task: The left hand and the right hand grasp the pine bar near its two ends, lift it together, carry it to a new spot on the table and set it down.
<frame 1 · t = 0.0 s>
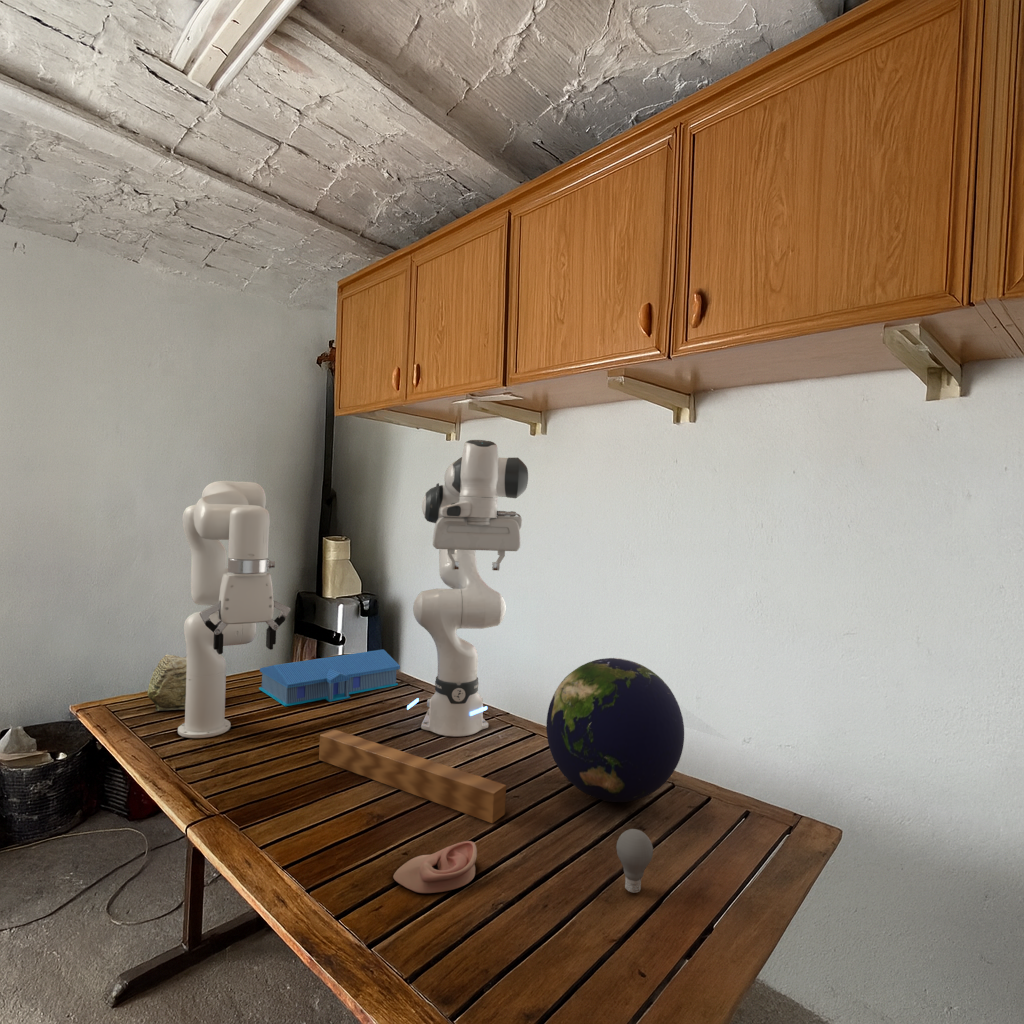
left hand: (244, 650, 130), 31 cm above the table, tool pointing down, fingers open, 9 cm apart
right hand: (475, 569, 146), 48 cm above the table, tool pointing down, fingers open, 8 cm apart
anatomical model: (435, 875, 108), on the table
bar: (404, 784, 141), on the table
globe: (610, 795, 140), on the table
light bulb: (632, 891, 106), on the table
model building: (332, 688, 208), on the table
fossil: (183, 706, 185), on the table
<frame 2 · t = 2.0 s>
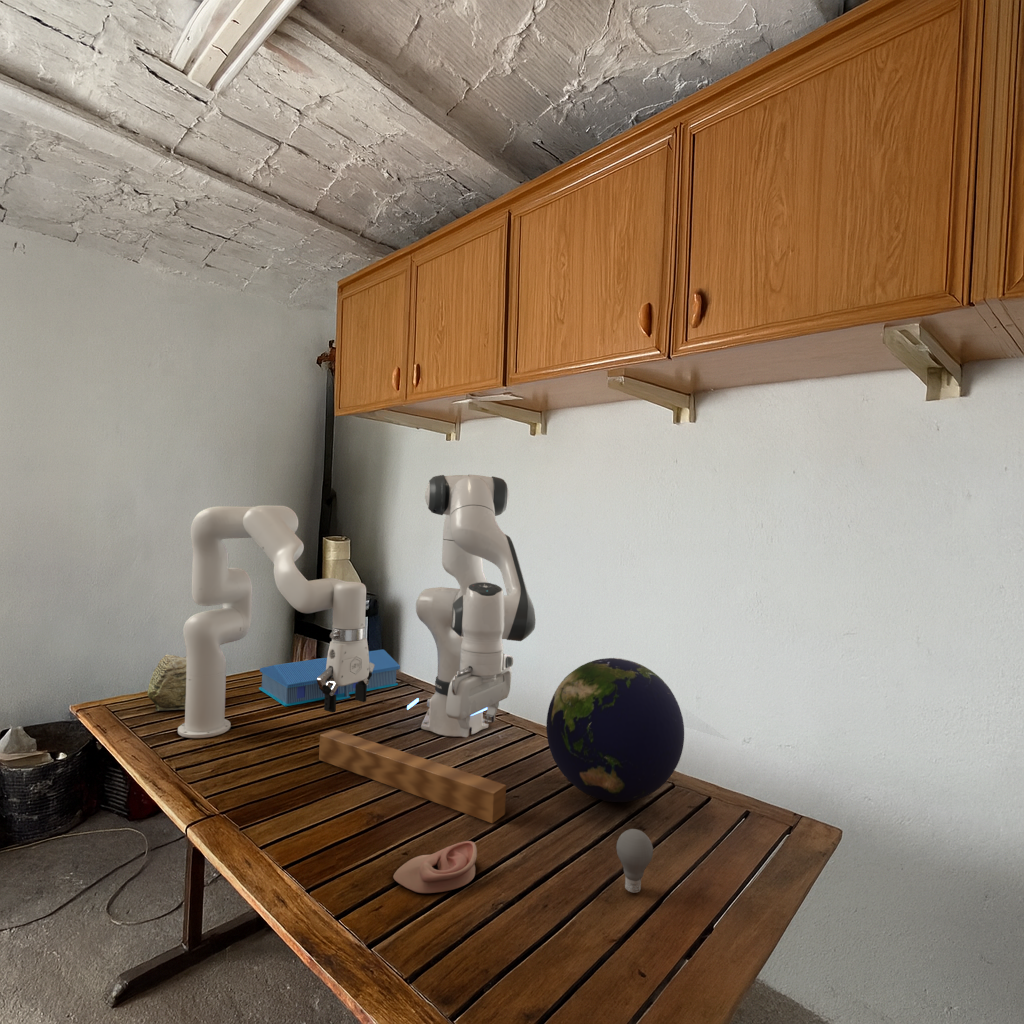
left hand: (345, 705, 151), 14 cm above the table, tool pointing down, fingers open, 9 cm apart
right hand: (478, 729, 131), 17 cm above the table, tool pointing down, fingers open, 8 cm apart
nothing on the table moved.
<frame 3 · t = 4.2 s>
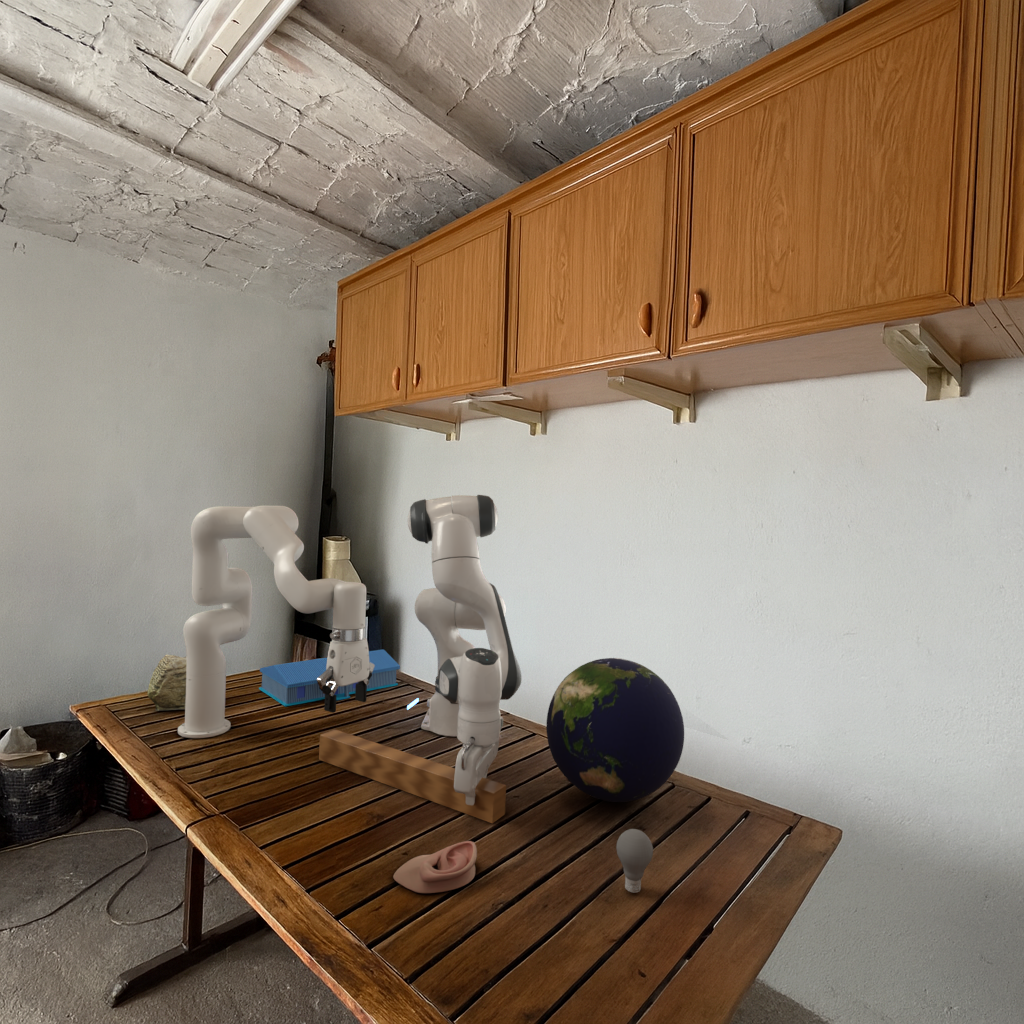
left hand: (345, 705, 151), 14 cm above the table, tool pointing down, fingers open, 9 cm apart
right hand: (475, 795, 131), 3 cm above the table, tool pointing down, fingers closed on bar, 5 cm apart
bar: (404, 784, 141), on the table, touching right hand
everything else where it was.
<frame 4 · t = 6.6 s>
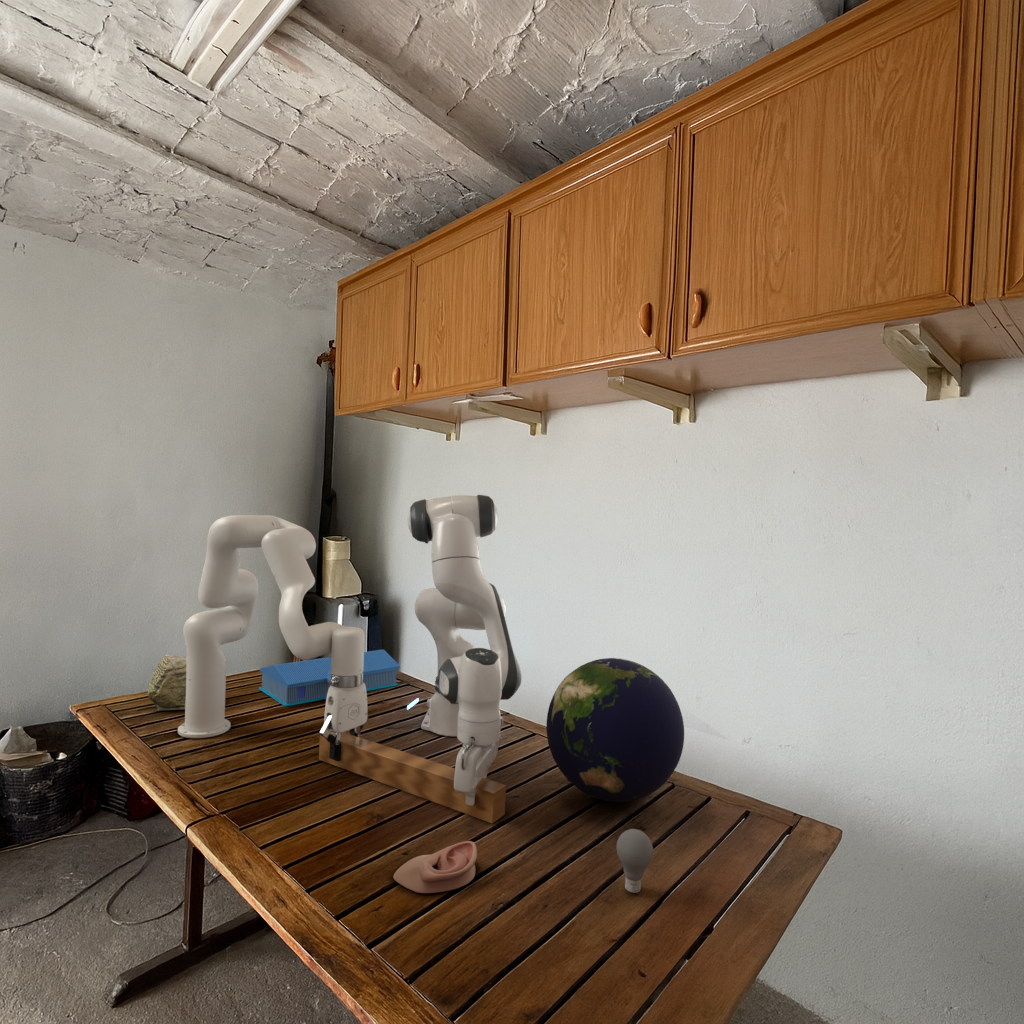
left hand: (343, 754, 151), 2 cm above the table, tool pointing down, fingers closed on bar, 4 cm apart
right hand: (475, 795, 131), 3 cm above the table, tool pointing down, fingers closed on bar, 5 cm apart
bar: (404, 784, 141), on the table, touching left hand, right hand
everything else where it was.
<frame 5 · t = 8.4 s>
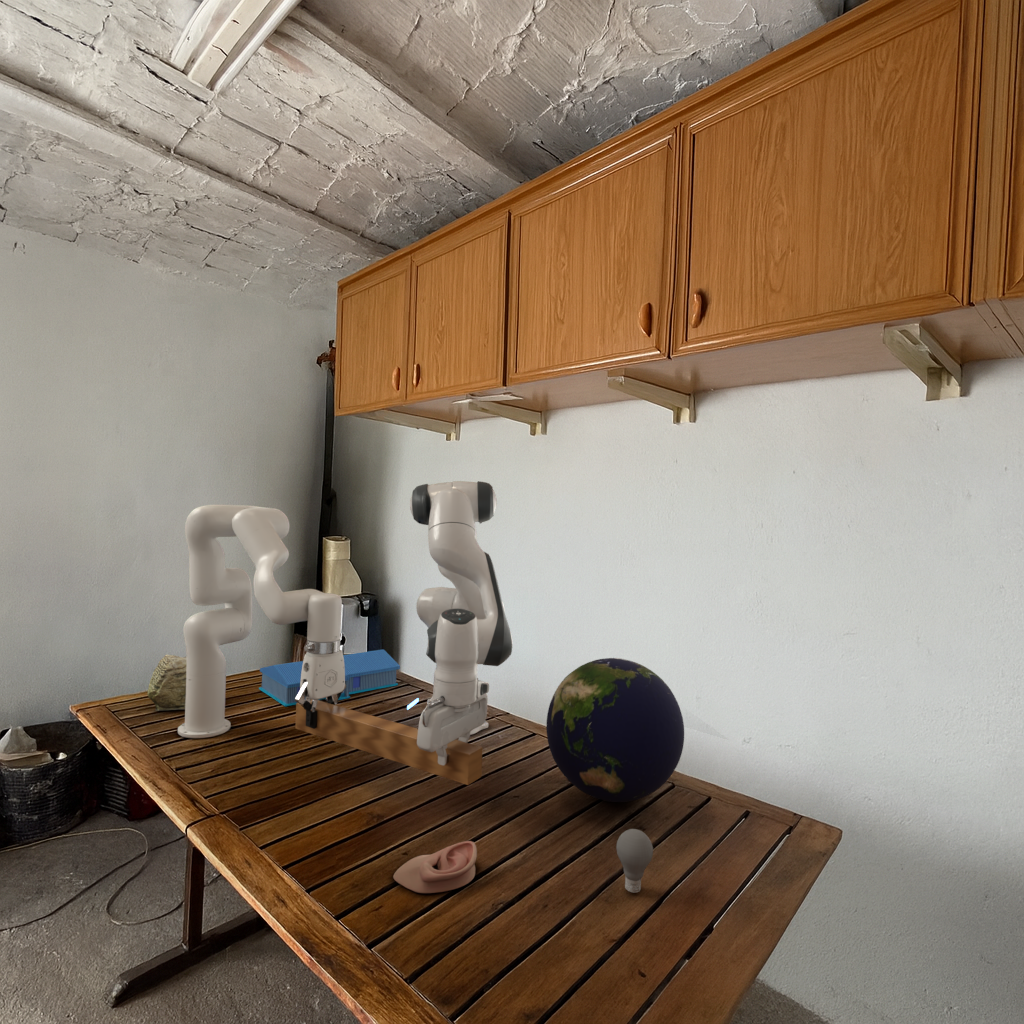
left hand: (320, 722, 149), 10 cm above the table, tool pointing down, fingers closed on bar, 4 cm apart
right hand: (452, 758, 129), 11 cm above the table, tool pointing down, fingers closed on bar, 5 cm apart
bar: (380, 750, 139), point 8 cm above the table, touching left hand, right hand
everything else where it was.
when the left hand's fingers open (3 cm above the table, at t = 10.7 s): bar drops 1 cm, on the table.
when the right hand's fingers open (4 cm above the table, at t = 10.8 s): bar stays where it is, on the table.
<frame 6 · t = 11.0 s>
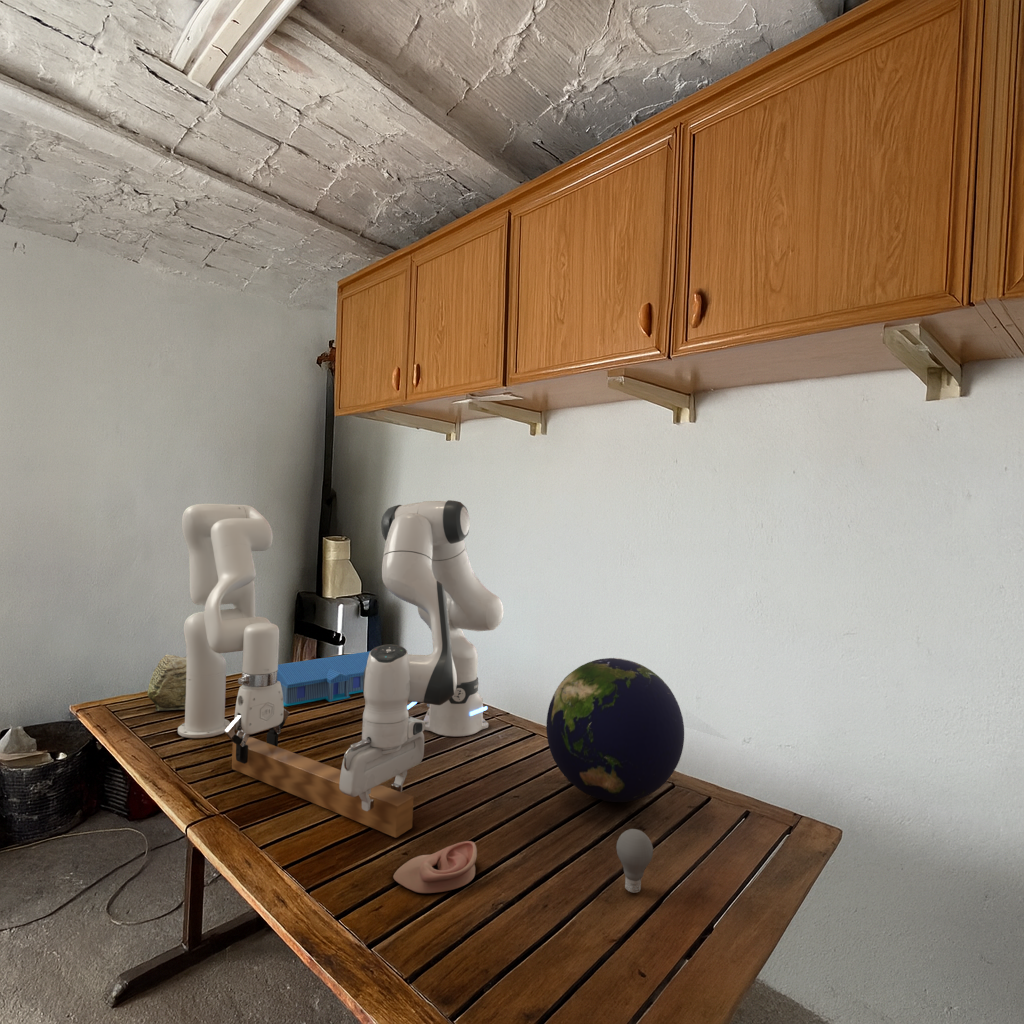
left hand: (257, 755, 144), 4 cm above the table, tool pointing down, fingers open, 7 cm apart
right hand: (382, 801, 124), 5 cm above the table, tool pointing down, fingers open, 7 cm apart
bar: (314, 795, 134), on the table
everything else where it was.
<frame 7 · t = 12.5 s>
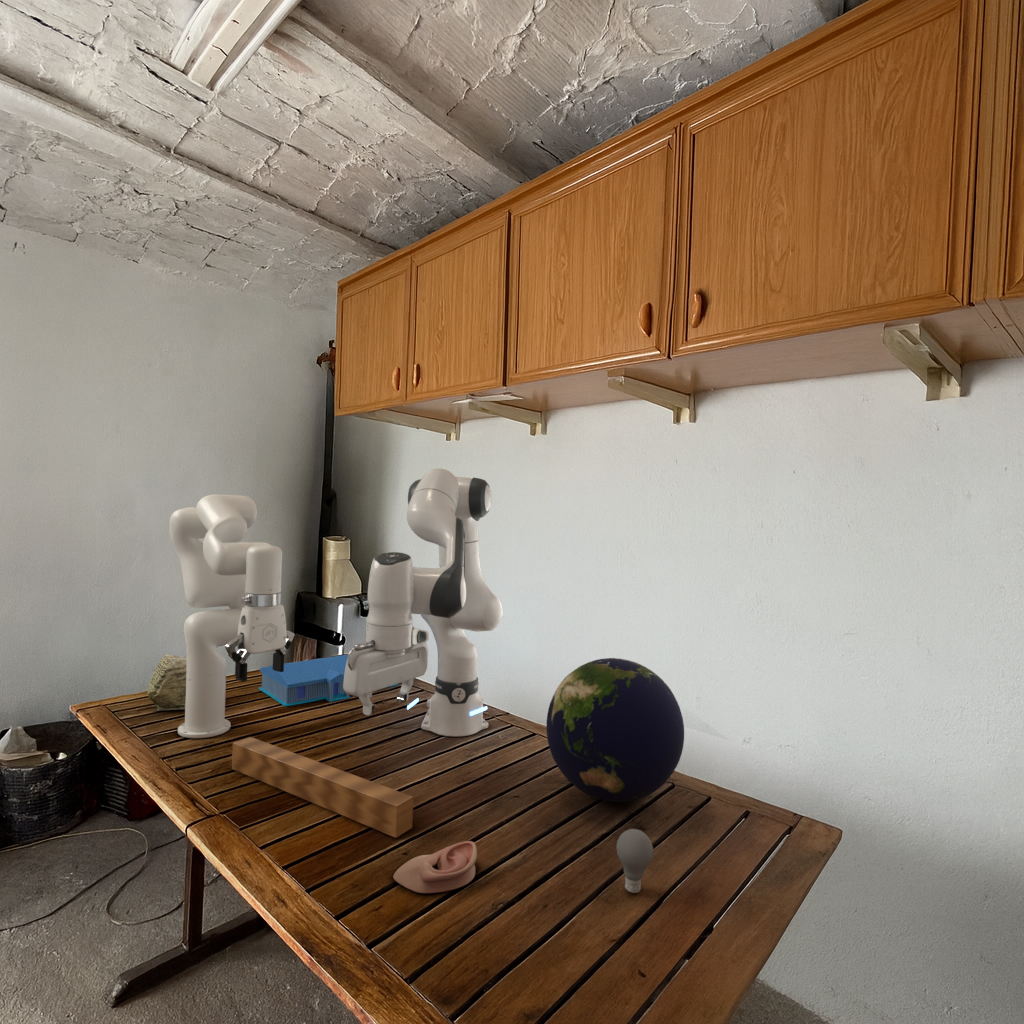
left hand: (260, 675, 144), 22 cm above the table, tool pointing down, fingers open, 9 cm apart
right hand: (386, 707, 123), 23 cm above the table, tool pointing down, fingers open, 8 cm apart
nothing on the table moved.
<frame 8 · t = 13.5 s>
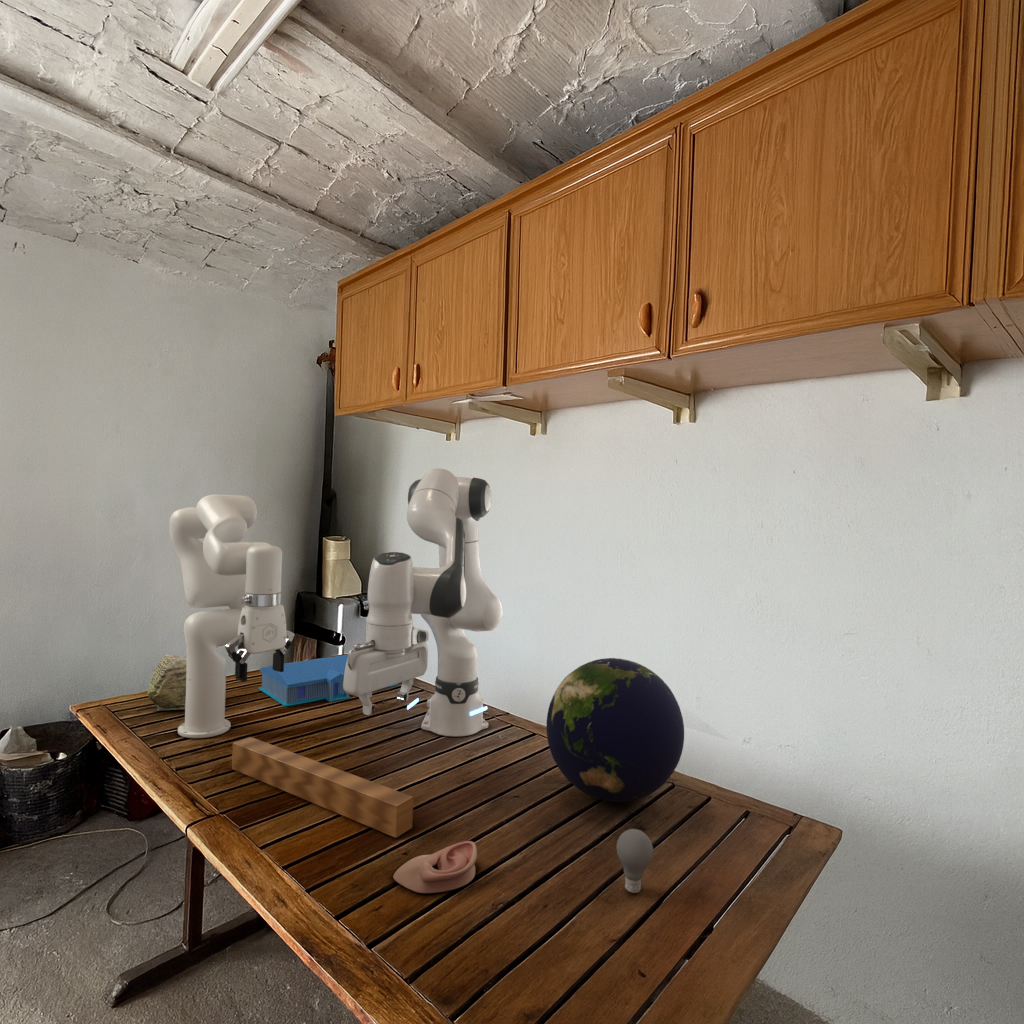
left hand: (260, 675, 144), 22 cm above the table, tool pointing down, fingers open, 9 cm apart
right hand: (386, 707, 123), 23 cm above the table, tool pointing down, fingers open, 8 cm apart
nothing on the table moved.
at the end: bar inside the target area (0.2 cm from its centre), on the table; bar tilted 0°; bar never tilted more than 2° during the clip; both hands held the bar at the same time; the left hand is holding nothing; the right hand is holding nothing; bar at rest at the end (0.0 cm/s) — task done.
